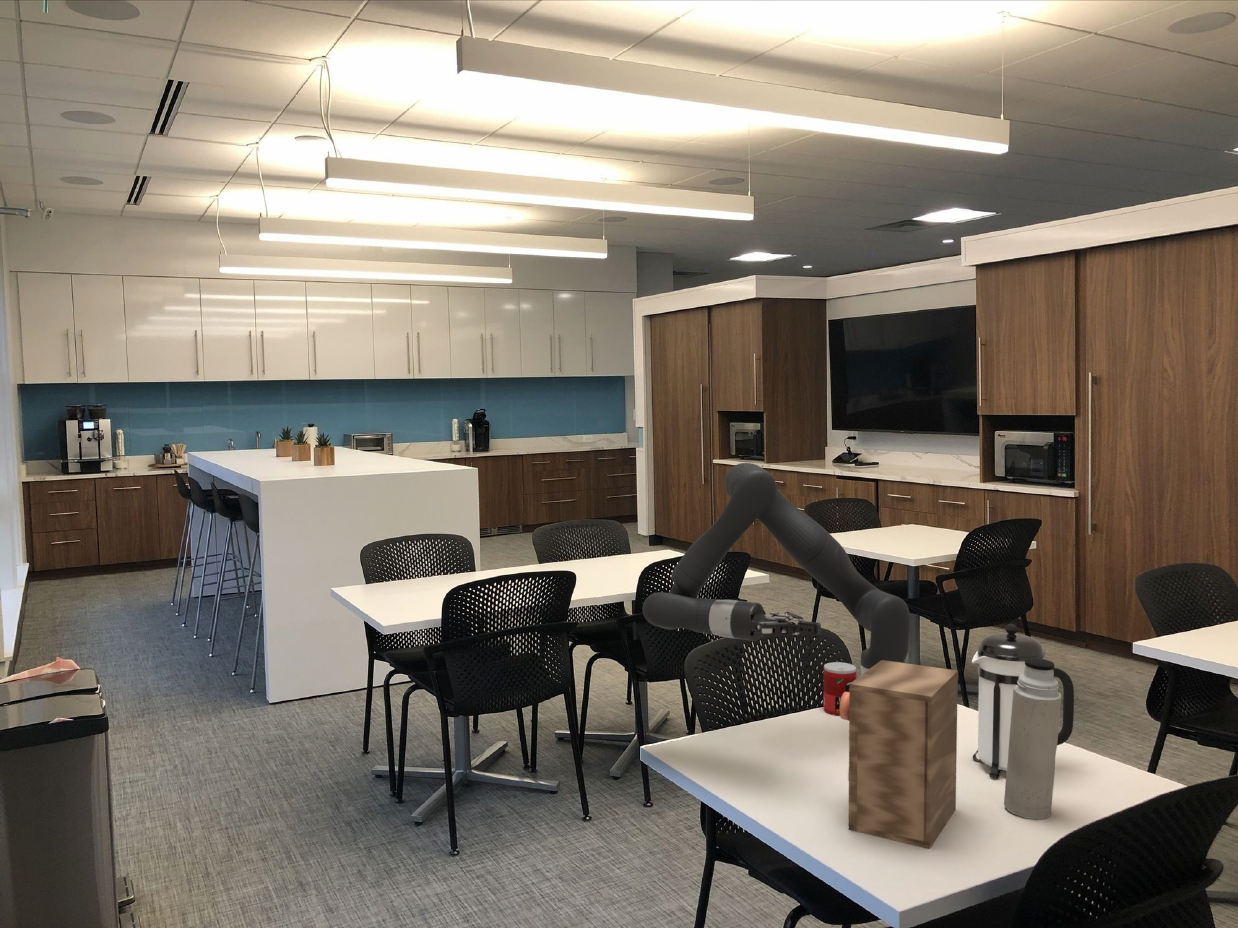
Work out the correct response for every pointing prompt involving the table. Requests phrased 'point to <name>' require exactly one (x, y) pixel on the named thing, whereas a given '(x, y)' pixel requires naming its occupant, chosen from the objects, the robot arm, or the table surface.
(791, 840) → the table surface
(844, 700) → the salmon round knob
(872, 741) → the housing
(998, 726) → the coffee press
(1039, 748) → the thermos bottle
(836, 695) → the canned food
